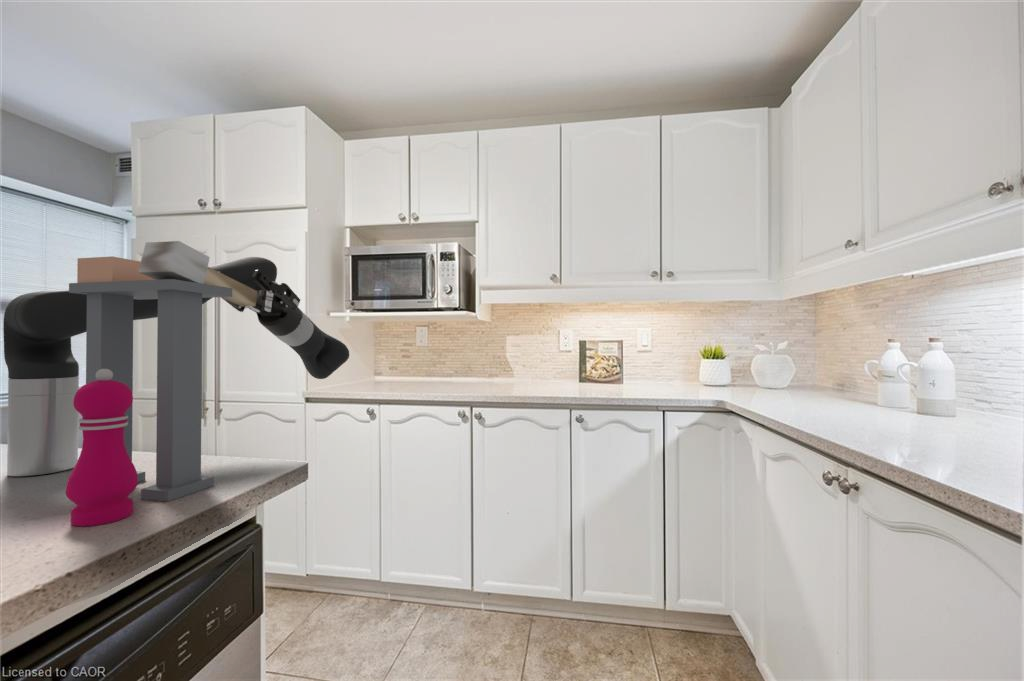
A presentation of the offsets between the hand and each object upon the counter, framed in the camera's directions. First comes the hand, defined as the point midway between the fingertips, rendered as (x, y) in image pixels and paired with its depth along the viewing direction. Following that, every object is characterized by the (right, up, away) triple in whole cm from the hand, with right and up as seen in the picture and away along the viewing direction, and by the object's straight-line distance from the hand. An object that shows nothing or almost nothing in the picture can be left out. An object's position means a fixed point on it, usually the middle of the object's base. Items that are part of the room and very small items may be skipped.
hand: (235, 274), depth 86 cm
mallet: (-1, -4, -6) cm, 7 cm away
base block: (-13, -3, -8) cm, 16 cm away
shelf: (-8, -36, -10) cm, 38 cm away
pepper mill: (-3, -36, -24) cm, 44 cm away
